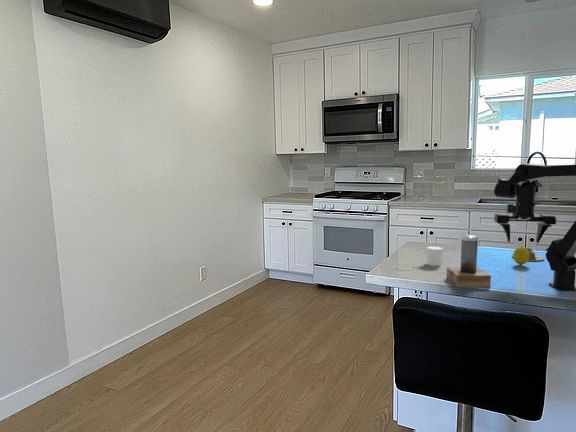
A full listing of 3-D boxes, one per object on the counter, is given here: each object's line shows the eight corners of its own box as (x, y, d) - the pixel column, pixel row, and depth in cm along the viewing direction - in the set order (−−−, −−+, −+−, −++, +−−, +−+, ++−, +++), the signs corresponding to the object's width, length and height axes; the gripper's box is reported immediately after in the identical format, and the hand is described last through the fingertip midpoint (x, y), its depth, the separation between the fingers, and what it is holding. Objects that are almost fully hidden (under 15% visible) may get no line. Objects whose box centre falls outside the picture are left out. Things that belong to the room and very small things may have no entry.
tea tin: (479, 271, 147) (481, 236, 145) (470, 274, 144) (472, 238, 143) (466, 268, 152) (467, 234, 150) (457, 271, 149) (458, 236, 147)
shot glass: (424, 265, 172) (424, 248, 171) (427, 261, 178) (427, 245, 177) (441, 267, 169) (442, 250, 168) (444, 263, 175) (444, 246, 174)
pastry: (518, 254, 188) (518, 244, 188) (548, 259, 179) (549, 248, 179) (507, 259, 180) (508, 248, 180) (538, 264, 171) (539, 253, 171)
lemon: (530, 267, 165) (531, 247, 164) (515, 267, 166) (516, 247, 165) (525, 264, 171) (526, 244, 169) (510, 263, 172) (511, 244, 171)
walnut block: (490, 286, 143) (490, 275, 142) (457, 287, 143) (458, 276, 143) (477, 277, 154) (477, 266, 153) (446, 277, 154) (447, 267, 154)
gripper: (548, 197, 154) (545, 238, 156) (492, 196, 159) (490, 237, 161) (558, 200, 143) (555, 245, 146) (498, 200, 148) (496, 243, 151)
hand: (522, 242), depth 151 cm, fingers open, 9 cm apart
